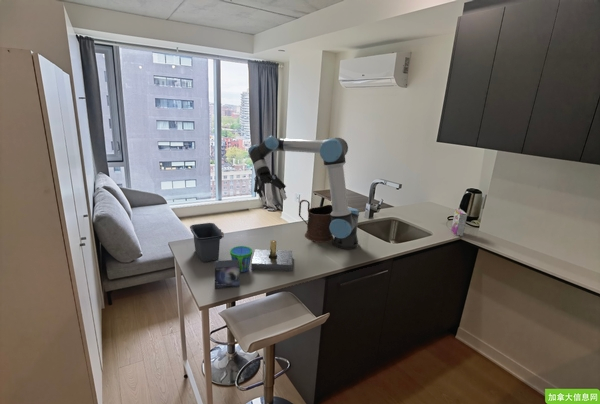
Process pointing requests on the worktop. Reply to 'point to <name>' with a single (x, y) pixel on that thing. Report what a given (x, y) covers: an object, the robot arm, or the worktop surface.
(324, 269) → the worktop surface
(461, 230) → the candy bar box
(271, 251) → the brass pin
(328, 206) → the brown metal pitcher
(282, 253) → the plate
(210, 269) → the worktop surface
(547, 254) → the worktop surface
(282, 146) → the robot arm
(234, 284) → the small box
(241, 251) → the snack cup
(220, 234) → the storage bin
